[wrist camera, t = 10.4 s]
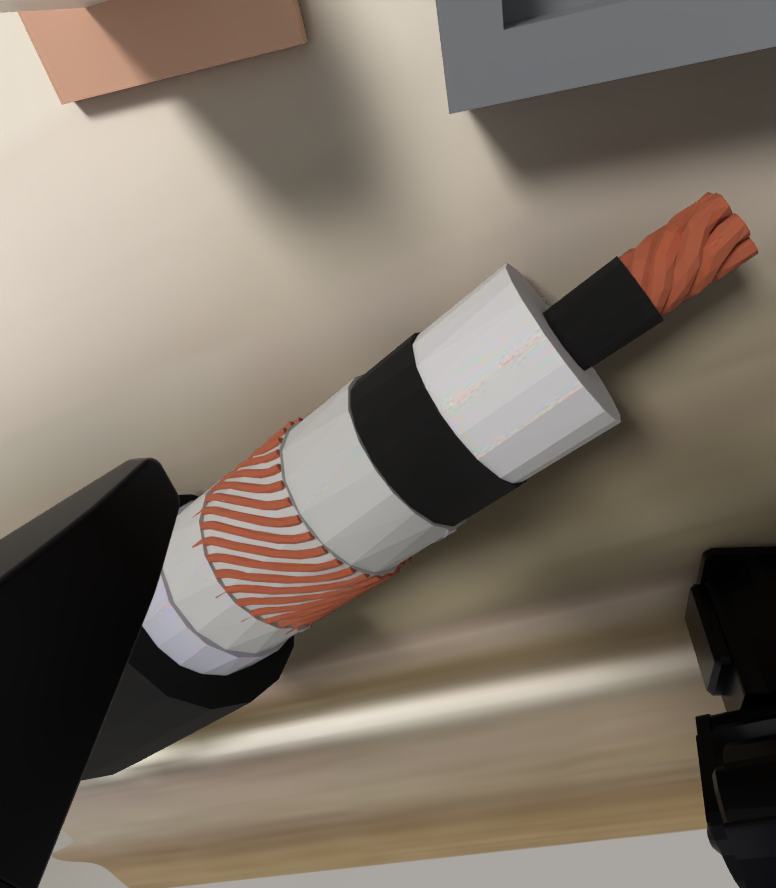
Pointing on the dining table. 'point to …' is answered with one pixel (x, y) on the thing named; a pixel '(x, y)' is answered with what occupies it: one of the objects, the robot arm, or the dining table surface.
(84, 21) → the coaster
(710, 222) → the cable
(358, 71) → the dining table surface
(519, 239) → the dining table surface
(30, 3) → the white block
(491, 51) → the grey hollow box
